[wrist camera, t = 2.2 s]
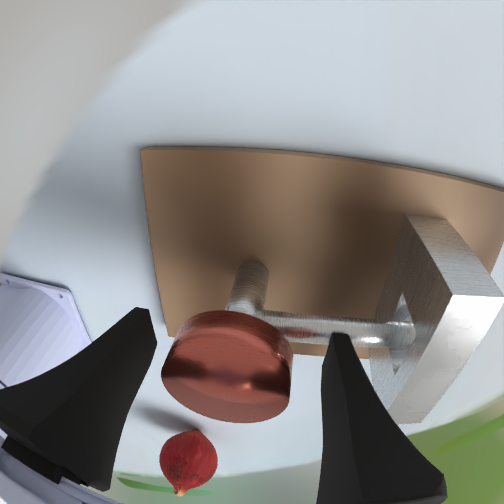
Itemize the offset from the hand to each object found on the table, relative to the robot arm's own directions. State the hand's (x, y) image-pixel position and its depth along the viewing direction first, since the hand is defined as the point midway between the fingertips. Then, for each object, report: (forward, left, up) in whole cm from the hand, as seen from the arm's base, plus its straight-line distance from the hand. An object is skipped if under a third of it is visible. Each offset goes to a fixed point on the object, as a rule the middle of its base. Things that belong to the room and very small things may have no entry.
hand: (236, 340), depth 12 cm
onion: (-6, -22, -6) cm, 23 cm away
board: (+4, 0, -6) cm, 7 cm away
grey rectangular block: (+8, 0, -6) cm, 10 cm away
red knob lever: (+4, 0, -4) cm, 6 cm away
